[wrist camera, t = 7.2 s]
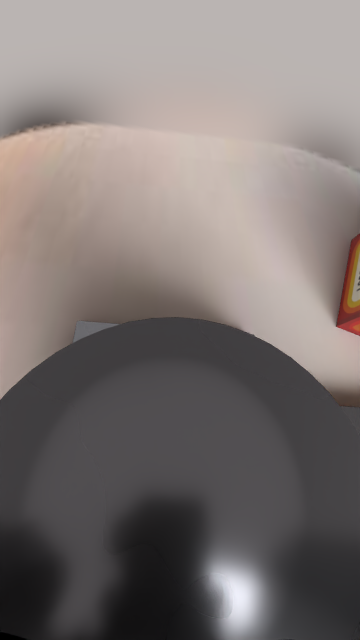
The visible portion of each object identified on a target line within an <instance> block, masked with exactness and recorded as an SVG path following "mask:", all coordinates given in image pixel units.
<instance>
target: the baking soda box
mask: <svg viewBox="0 0 360 640" xmlns="http://www.w3.org/2000/svg"><path fill="white" fill-rule="evenodd" d="M336 327H338V328H341V329H343V330H346V331H349V332H351V333H354V334H356V335H359V336H360V234H358V235H357V236H356V237H355V238H354V239H352V241H351V246H350V252H349V258H348V263H347V269H346V274H345V280H344V286H343V291H342V297H341V303H340V308H339V314H338V319H337V325H336Z"/></svg>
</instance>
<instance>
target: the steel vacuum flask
mask: <svg viewBox="0 0 360 640" xmlns="http://www.w3.org/2000/svg"><path fill="white" fill-rule="evenodd" d="M0 640H360V435H359V434H358V432H357V431H356V429H355V427H354V426H353V424H352V423H351V421H350V419H349V418H348V416H347V415H346V414H345V412H344V411H343V410H342V409H341V407H340V406H339V405H338V403H337V402H336V401H335V400H334V398H333V397H332V396H331V394H330V393H329V392H328V391H327V390H326V389H325V388H324V387H323V386H322V385H321V384H320V383H319V382H318V381H317V380H316V379H315V378H314V377H313V376H312V375H311V374H310V373H309V372H308V371H307V370H305V369H304V368H303V367H302V366H301V365H299V364H298V363H297V362H296V361H294V360H293V359H292V358H291V357H289V356H288V355H286V354H285V353H283V352H282V351H280V350H279V349H277V348H276V347H274V346H272V345H271V344H269V343H267V342H265V341H263V340H261V339H259V338H257V337H255V336H253V335H251V334H249V333H247V332H244V331H241V330H238V329H236V328H233V327H230V326H227V325H224V324H219V323H215V322H210V321H206V320H200V319H190V318H179V317H174V318H151V319H145V320H138V321H132V322H127V323H124V324H120V325H117V326H113V327H109V328H106V329H103V330H101V331H98V332H96V333H93V334H91V335H89V336H86V337H84V338H81V339H79V340H78V341H76V342H74V343H72V344H70V345H69V346H67V347H65V348H63V349H61V350H60V351H58V352H56V353H55V354H53V355H52V356H50V357H49V358H48V359H46V360H45V361H44V362H42V363H41V364H39V365H38V366H37V367H35V368H34V369H32V370H31V371H30V372H29V373H28V374H27V375H26V376H24V377H23V378H22V379H21V380H20V381H19V382H18V383H17V384H16V385H14V386H13V387H12V388H11V389H10V390H9V391H8V392H7V393H6V394H5V395H4V396H3V398H2V399H1V400H0Z"/></svg>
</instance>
